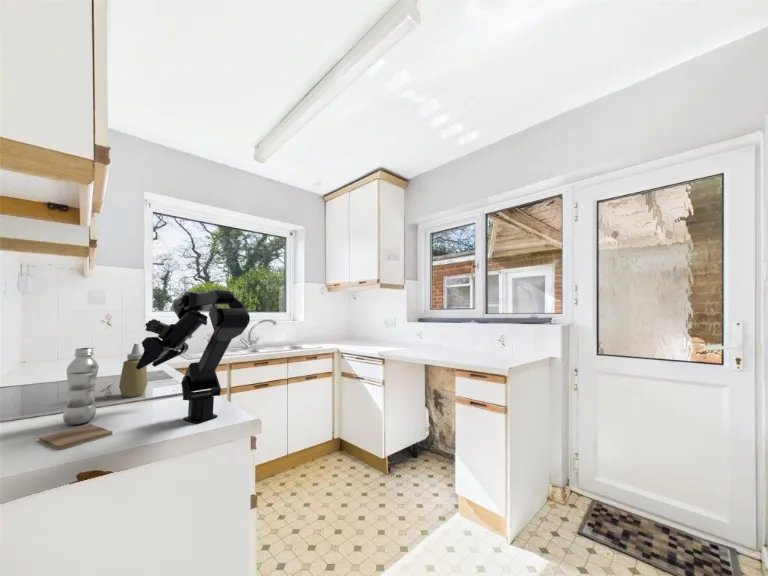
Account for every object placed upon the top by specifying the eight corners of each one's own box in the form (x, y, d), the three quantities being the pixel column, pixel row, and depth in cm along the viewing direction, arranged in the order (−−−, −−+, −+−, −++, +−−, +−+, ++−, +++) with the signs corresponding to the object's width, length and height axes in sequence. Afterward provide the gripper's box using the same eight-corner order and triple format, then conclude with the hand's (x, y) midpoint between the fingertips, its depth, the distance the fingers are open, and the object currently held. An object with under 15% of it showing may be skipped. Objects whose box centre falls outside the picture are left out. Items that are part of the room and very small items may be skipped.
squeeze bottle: (152, 392, 121) (155, 342, 122) (136, 398, 113) (140, 345, 114) (128, 392, 120) (132, 342, 121) (112, 398, 112) (115, 345, 113)
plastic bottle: (101, 419, 92) (107, 347, 93) (77, 428, 86) (83, 350, 87) (81, 418, 93) (86, 346, 94) (54, 427, 86) (60, 349, 87)
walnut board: (112, 434, 83) (112, 431, 83) (59, 449, 73) (60, 446, 74) (90, 427, 87) (91, 424, 87) (38, 441, 78) (39, 437, 78)
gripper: (178, 312, 112) (141, 348, 109) (149, 308, 94) (104, 351, 91) (203, 334, 113) (167, 370, 109) (180, 334, 95) (136, 377, 91)
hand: (145, 367), depth 100 cm, fingers open, 9 cm apart
